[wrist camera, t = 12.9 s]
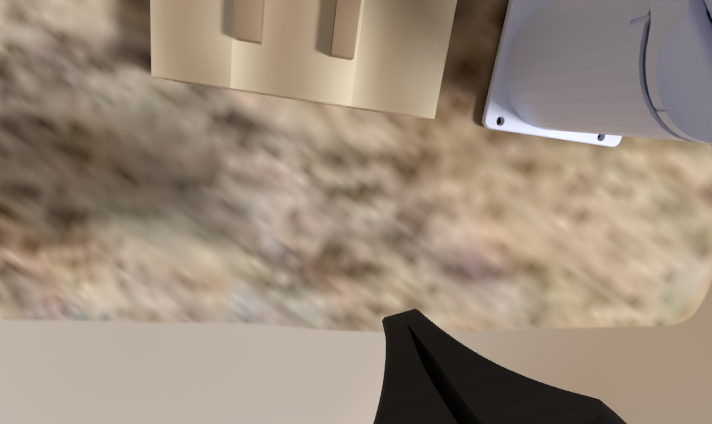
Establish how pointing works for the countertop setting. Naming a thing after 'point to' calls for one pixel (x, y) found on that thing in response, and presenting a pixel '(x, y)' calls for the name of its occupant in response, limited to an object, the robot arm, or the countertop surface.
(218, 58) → the dock plate
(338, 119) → the countertop surface
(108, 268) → the countertop surface
